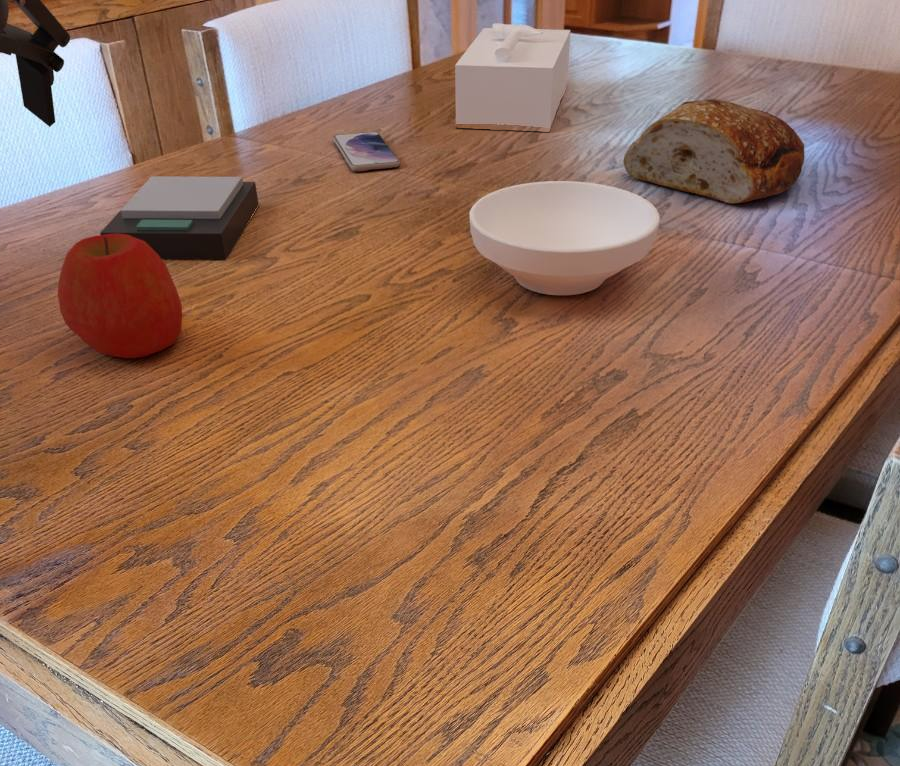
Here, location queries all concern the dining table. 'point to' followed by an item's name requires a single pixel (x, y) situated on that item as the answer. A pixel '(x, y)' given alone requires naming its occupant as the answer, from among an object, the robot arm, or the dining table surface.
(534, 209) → the bowl
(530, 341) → the dining table surface
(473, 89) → the tissue box
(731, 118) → the bread
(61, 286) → the apple
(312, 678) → the dining table surface
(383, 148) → the smartphone
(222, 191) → the scale
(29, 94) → the robot arm
